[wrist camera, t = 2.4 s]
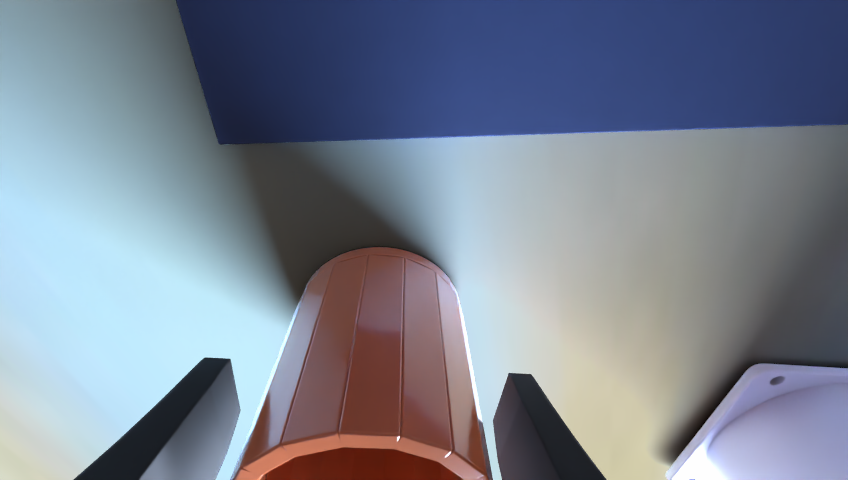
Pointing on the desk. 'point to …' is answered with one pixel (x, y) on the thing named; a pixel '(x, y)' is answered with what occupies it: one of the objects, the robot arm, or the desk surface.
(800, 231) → the desk surface
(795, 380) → the robot arm
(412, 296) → the cup
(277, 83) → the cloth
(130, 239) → the desk surface
